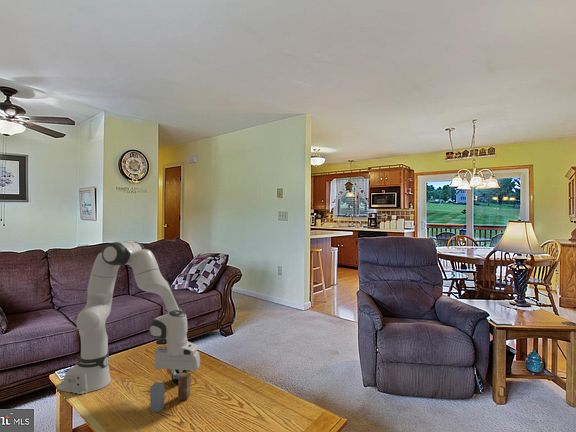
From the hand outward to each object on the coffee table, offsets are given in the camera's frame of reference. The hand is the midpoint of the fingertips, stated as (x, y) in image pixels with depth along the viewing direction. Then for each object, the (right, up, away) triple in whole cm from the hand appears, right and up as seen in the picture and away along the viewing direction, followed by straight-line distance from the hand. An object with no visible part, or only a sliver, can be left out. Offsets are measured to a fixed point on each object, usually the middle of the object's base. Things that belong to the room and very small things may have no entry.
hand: (177, 378), depth 145 cm
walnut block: (+3, -8, 0) cm, 9 cm away
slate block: (-5, -8, -9) cm, 13 cm away
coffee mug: (-3, -8, +15) cm, 18 cm away
